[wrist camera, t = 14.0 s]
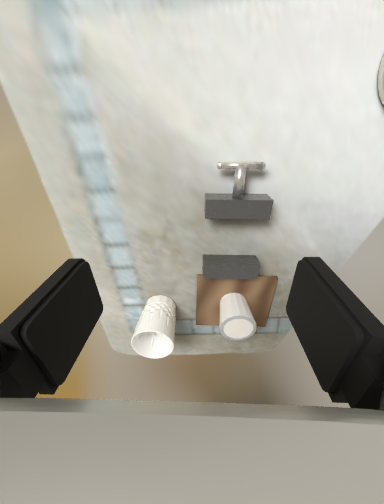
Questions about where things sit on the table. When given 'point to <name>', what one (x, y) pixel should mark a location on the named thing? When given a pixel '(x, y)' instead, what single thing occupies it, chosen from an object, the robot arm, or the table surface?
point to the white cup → (155, 328)
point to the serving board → (252, 289)
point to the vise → (235, 209)
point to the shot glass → (236, 317)
